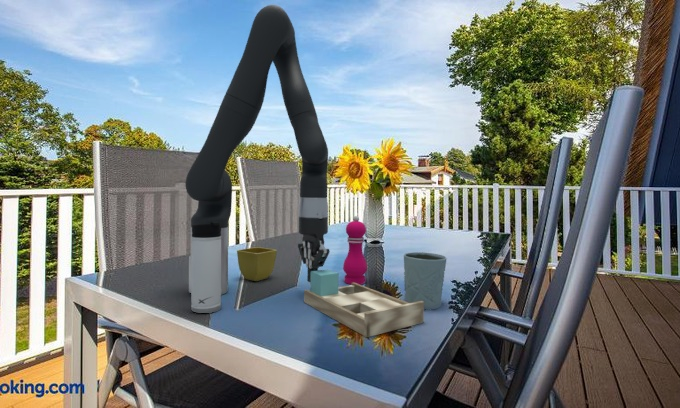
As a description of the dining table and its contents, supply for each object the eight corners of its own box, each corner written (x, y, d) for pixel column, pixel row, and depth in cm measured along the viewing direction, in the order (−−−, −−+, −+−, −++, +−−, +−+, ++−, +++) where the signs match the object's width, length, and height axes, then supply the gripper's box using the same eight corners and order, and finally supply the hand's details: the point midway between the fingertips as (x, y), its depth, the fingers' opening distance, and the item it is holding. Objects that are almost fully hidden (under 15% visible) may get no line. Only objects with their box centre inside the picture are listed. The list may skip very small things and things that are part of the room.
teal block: (320, 296, 86) (320, 275, 85) (310, 291, 90) (310, 271, 90) (338, 293, 88) (338, 273, 88) (327, 288, 93) (327, 269, 92)
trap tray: (366, 337, 68) (367, 314, 68) (304, 302, 89) (304, 284, 89) (423, 322, 76) (423, 301, 76) (354, 293, 97) (354, 277, 97)
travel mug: (204, 316, 78) (204, 223, 77) (185, 310, 81) (185, 221, 81) (227, 308, 83) (228, 221, 82) (208, 303, 87) (209, 219, 86)
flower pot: (277, 278, 113) (277, 249, 112) (256, 284, 105) (257, 253, 105) (256, 274, 118) (257, 246, 117) (235, 279, 110) (236, 250, 110)
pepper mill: (365, 285, 105) (366, 217, 105) (340, 284, 107) (341, 216, 106) (368, 280, 112) (369, 215, 112) (345, 278, 114) (346, 214, 113)
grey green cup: (400, 297, 94) (401, 251, 94) (439, 298, 94) (440, 252, 94) (405, 310, 84) (407, 258, 84) (450, 311, 84) (451, 259, 83)
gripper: (288, 214, 97) (288, 278, 98) (313, 217, 86) (312, 290, 87) (313, 213, 101) (312, 275, 102) (339, 216, 90) (338, 286, 91)
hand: (312, 282), depth 94 cm, fingers closed
